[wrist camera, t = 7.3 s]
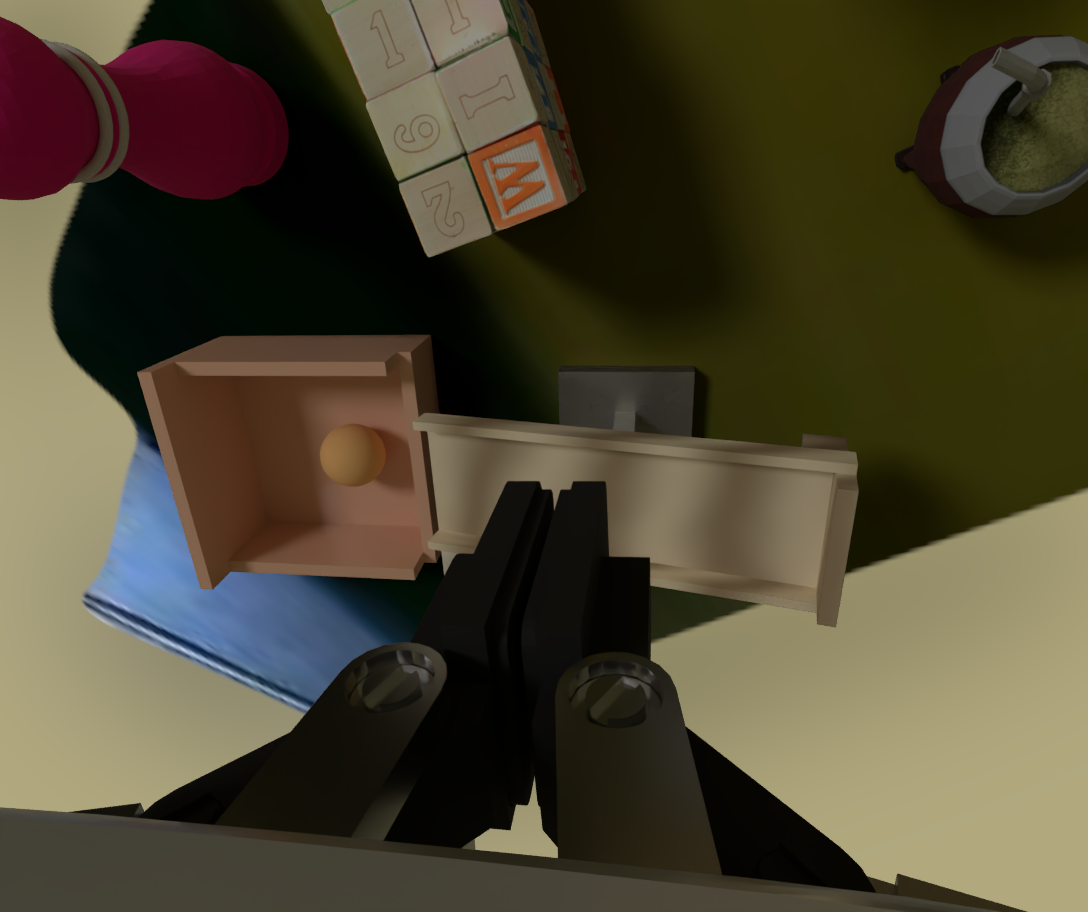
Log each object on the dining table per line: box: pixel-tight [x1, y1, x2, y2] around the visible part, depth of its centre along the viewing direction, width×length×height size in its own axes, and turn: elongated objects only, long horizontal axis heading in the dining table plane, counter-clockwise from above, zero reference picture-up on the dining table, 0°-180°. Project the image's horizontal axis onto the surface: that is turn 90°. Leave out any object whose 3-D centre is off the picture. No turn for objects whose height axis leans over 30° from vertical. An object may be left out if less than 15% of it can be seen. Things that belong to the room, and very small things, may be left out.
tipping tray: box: [413, 413, 859, 627], centre depth 37 cm, size 22×16×6 cm
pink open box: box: [137, 335, 442, 590], centre depth 42 cm, size 14×14×8 cm
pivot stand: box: [558, 366, 695, 437], centre depth 40 cm, size 8×10×6 cm
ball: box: [320, 424, 386, 487], centre depth 42 cm, size 4×4×4 cm
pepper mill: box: [0, 17, 289, 200], centre depth 29 cm, size 7×7×20 cm
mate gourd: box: [894, 35, 1088, 217], centre depth 27 cm, size 8×8×15 cm
